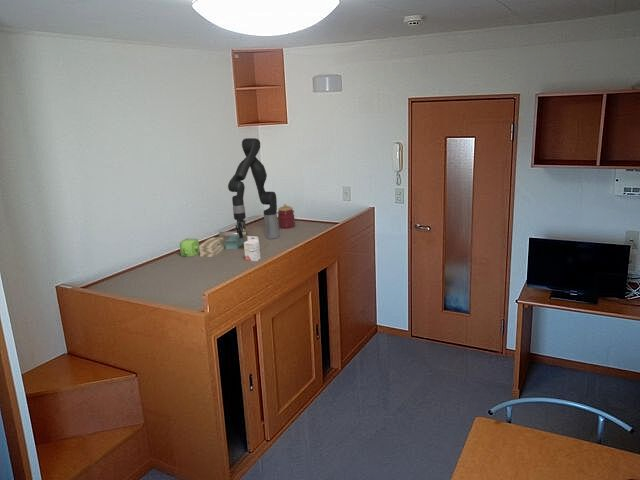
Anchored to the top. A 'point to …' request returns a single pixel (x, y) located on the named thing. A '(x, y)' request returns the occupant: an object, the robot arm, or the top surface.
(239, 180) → the robot arm
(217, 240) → the beam
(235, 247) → the v block
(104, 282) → the top surface
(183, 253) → the green cube pot
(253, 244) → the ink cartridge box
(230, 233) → the axle
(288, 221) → the canister
